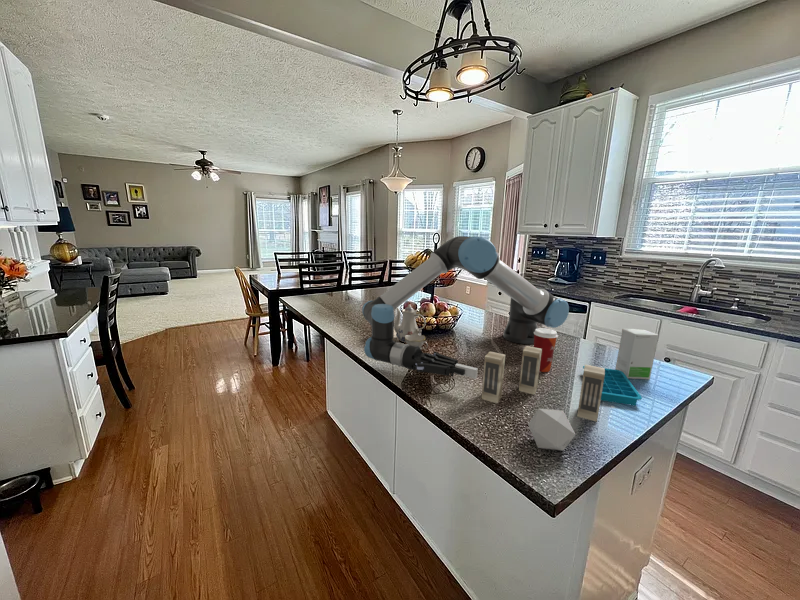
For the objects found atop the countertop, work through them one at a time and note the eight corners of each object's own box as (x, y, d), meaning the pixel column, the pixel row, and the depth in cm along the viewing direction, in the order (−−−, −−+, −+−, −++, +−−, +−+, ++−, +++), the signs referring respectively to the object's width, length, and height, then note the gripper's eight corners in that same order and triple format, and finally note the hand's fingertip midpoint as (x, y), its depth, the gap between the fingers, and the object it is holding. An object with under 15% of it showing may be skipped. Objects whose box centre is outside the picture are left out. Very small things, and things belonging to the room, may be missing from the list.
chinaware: (367, 343, 141) (364, 307, 136) (390, 330, 154) (388, 297, 149) (421, 359, 125) (420, 319, 120) (442, 343, 138) (442, 306, 133)
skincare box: (625, 379, 108) (634, 334, 104) (613, 370, 114) (620, 328, 111) (651, 379, 108) (660, 334, 104) (637, 371, 114) (645, 328, 111)
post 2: (521, 385, 102) (526, 345, 99) (537, 388, 100) (541, 348, 97) (518, 391, 98) (522, 350, 95) (534, 395, 96) (539, 353, 93)
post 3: (578, 408, 89) (584, 364, 86) (597, 413, 87) (604, 368, 84) (577, 417, 85) (583, 370, 82) (596, 422, 83) (604, 375, 80)
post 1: (486, 392, 97) (489, 351, 94) (501, 396, 95) (505, 354, 92) (481, 399, 93) (484, 356, 90) (497, 403, 91) (500, 360, 88)
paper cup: (555, 374, 110) (561, 335, 107) (531, 372, 112) (536, 333, 109) (550, 365, 118) (554, 328, 115) (527, 363, 119) (531, 326, 116)
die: (562, 467, 68) (589, 427, 68) (524, 439, 69) (551, 401, 70) (550, 455, 76) (574, 419, 76) (516, 430, 78) (540, 395, 78)
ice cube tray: (620, 378, 109) (621, 370, 108) (641, 409, 90) (643, 399, 89) (581, 373, 112) (582, 365, 112) (594, 401, 94) (595, 392, 93)
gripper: (416, 360, 113) (482, 377, 101) (396, 374, 102) (468, 394, 90) (416, 339, 111) (484, 354, 99) (396, 351, 101) (469, 369, 89)
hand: (476, 373), depth 95 cm, fingers closed
